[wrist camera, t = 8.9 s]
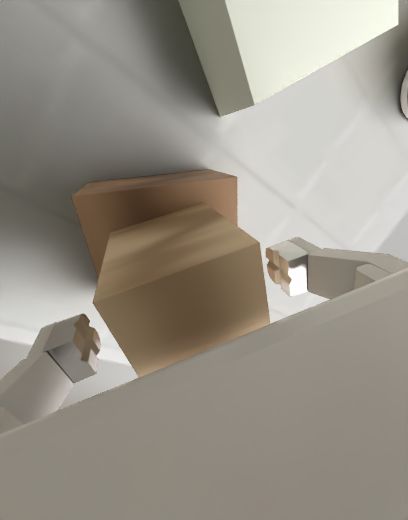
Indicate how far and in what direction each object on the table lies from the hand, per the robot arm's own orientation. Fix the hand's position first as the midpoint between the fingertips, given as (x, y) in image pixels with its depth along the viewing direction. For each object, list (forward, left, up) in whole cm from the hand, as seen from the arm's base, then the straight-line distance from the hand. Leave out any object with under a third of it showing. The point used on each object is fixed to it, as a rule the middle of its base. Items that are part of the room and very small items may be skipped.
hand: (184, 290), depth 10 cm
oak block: (0, 0, -3) cm, 3 cm away
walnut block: (0, 0, -8) cm, 8 cm away
